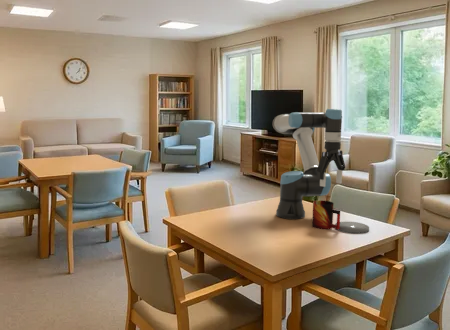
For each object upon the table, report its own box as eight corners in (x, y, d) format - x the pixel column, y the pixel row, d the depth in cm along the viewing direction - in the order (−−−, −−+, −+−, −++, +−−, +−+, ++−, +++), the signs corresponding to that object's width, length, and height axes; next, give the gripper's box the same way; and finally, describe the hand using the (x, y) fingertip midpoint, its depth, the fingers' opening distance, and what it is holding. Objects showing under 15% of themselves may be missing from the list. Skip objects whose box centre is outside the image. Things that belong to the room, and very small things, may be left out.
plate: (327, 227, 218) (328, 224, 218) (347, 222, 229) (347, 219, 228) (356, 235, 206) (356, 232, 206) (375, 229, 216) (375, 226, 216)
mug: (339, 231, 212) (340, 207, 210) (310, 228, 217) (311, 203, 216) (342, 226, 221) (344, 202, 219) (314, 223, 226) (315, 199, 224)
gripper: (323, 142, 206) (322, 188, 208) (353, 140, 222) (351, 182, 225) (310, 141, 211) (308, 186, 214) (340, 139, 228) (338, 181, 230)
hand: (330, 184), depth 219 cm, fingers open, 13 cm apart
